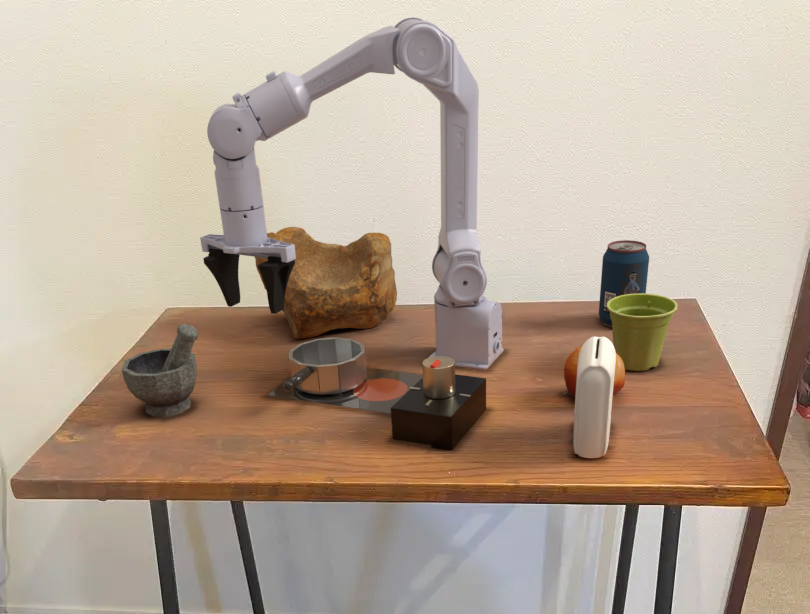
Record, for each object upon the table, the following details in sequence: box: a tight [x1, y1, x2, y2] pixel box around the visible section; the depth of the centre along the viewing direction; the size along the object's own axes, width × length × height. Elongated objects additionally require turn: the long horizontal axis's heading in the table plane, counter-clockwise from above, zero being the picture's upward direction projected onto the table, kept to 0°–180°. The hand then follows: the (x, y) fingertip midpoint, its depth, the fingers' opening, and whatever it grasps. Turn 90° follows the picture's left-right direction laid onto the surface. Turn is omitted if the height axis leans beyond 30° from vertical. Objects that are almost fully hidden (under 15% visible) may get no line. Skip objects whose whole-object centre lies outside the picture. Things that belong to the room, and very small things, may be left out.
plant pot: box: [607, 293, 678, 372], centre depth 122 cm, size 9×9×9 cm
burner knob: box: [421, 356, 456, 399], centre depth 108 cm, size 4×4×4 cm
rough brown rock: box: [254, 226, 398, 340], centre depth 140 cm, size 23×17×15 cm
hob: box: [267, 367, 423, 415], centre depth 123 cm, size 21×13×1 cm, turn 65°
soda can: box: [598, 239, 650, 328], centre depth 136 cm, size 7×7×12 cm
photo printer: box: [572, 335, 616, 459], centre depth 103 cm, size 10×4×12 cm, turn 167°
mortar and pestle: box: [121, 323, 199, 418], centre depth 117 cm, size 11×9×12 cm
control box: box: [390, 373, 487, 451], centre depth 110 cm, size 12×8×5 cm
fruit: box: [562, 344, 626, 398], centre depth 115 cm, size 8×8×8 cm
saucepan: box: [282, 336, 367, 396], centre depth 121 cm, size 16×10×5 cm, turn 155°
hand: (255, 307), depth 122 cm, fingers open, 7 cm apart
